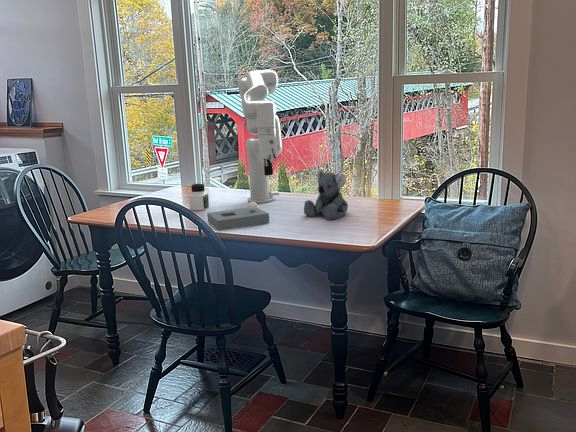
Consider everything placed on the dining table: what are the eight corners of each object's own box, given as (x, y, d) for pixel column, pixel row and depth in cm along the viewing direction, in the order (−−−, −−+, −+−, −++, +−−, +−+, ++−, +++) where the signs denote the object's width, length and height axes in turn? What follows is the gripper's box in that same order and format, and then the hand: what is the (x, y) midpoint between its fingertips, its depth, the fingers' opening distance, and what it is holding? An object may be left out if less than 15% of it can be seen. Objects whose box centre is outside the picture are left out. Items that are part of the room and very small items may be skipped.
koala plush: (301, 216, 249) (299, 171, 245) (327, 208, 262) (325, 165, 257) (332, 221, 238) (331, 175, 233) (357, 213, 250) (357, 168, 246)
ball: (255, 209, 247) (255, 200, 246) (259, 211, 244) (258, 202, 243) (247, 210, 246) (246, 201, 245) (250, 212, 242) (249, 203, 241)
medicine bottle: (204, 210, 268) (202, 185, 265) (189, 210, 270) (187, 185, 267) (209, 207, 275) (207, 182, 272) (195, 207, 277) (193, 182, 274)
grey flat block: (255, 215, 254) (255, 206, 253) (269, 222, 240) (268, 213, 239) (207, 222, 246) (207, 212, 245) (218, 230, 232) (218, 220, 231)
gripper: (281, 132, 235) (283, 176, 239) (268, 130, 248) (270, 172, 252) (264, 133, 232) (266, 178, 236) (251, 131, 245) (254, 173, 249)
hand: (268, 174), depth 244 cm, fingers closed
